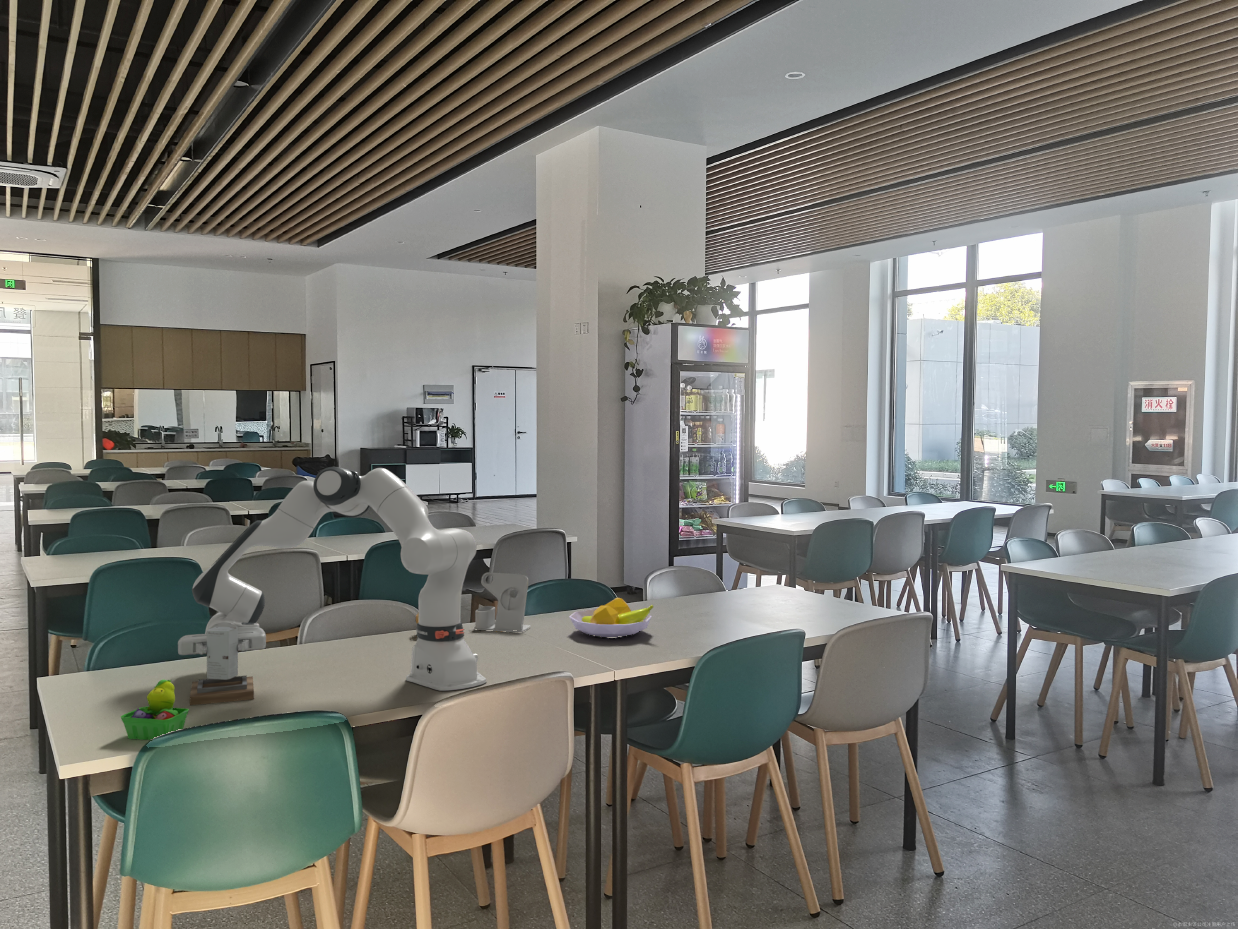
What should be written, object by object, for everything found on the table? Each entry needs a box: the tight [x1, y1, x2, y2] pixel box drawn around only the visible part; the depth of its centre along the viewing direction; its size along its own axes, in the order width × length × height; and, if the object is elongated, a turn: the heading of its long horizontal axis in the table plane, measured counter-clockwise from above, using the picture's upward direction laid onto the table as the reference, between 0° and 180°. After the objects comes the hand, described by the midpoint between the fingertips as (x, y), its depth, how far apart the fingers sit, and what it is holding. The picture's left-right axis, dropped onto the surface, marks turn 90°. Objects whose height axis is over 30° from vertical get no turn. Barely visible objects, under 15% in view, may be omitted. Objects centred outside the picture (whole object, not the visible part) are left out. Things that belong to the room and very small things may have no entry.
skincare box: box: [206, 627, 239, 680], centre depth 220 cm, size 6×4×12 cm
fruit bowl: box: [568, 597, 654, 638], centre depth 291 cm, size 28×27×11 cm
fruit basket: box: [120, 679, 190, 741], centre depth 190 cm, size 11×9×11 cm
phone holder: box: [473, 572, 532, 632], centre depth 298 cm, size 17×10×18 cm, turn 76°
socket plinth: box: [189, 675, 255, 706], centre depth 220 cm, size 14×14×3 cm
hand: (222, 649), depth 219 cm, fingers closed on skincare box, 7 cm apart
